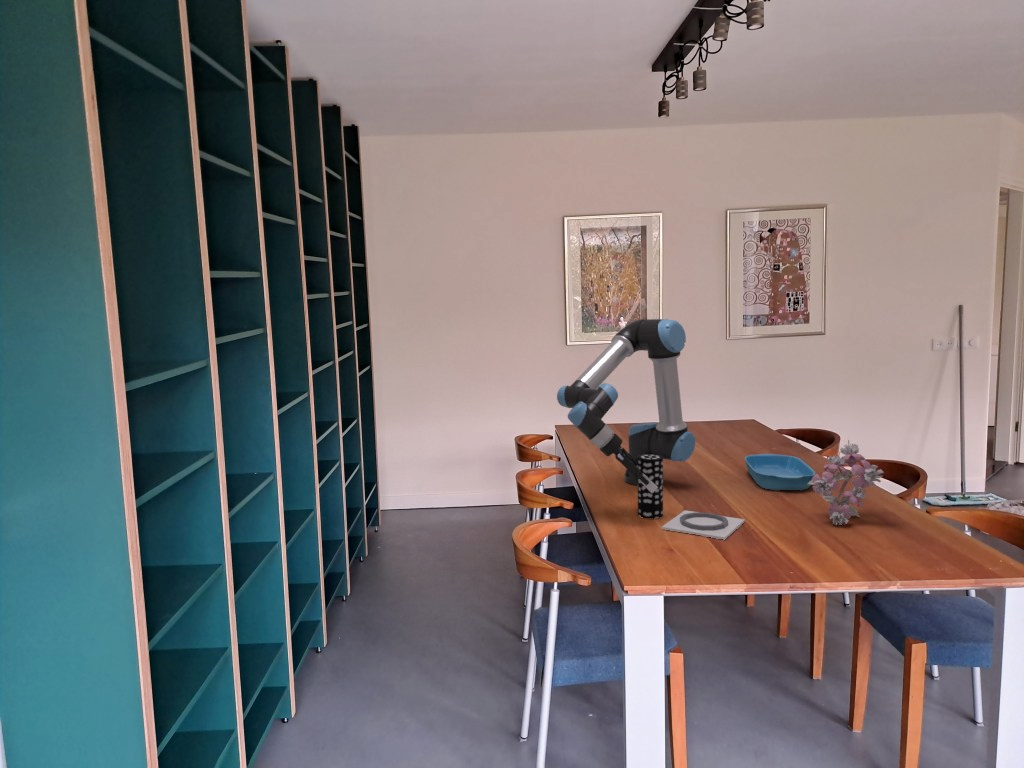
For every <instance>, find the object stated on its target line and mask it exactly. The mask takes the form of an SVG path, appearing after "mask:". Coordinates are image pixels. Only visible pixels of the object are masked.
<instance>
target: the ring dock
mask: <svg viewBox="0 0 1024 768" xmlns="http://www.w3.org/2000/svg"><path fill="white" fill-rule="evenodd" d="M745 520H746V519H744V518H739V517H731V516H724V515H720V514H717V513H710V512H698V511H693V510H692V511H691V510H686V509H685V510H683V511H682V512H681V513H679V514H678V515H676V516H675V517H673V518H672V519H670V520H669V521H668V522H666V523H665V524H663V525H662V526H661V530H662V529H665V530H664V531H666V530H670V531H669V532H671V531H677V532H683V533H689V534H696V535H702V536H706V537H711V538H710V539H712V538H716V539H715V540H718V539H723V540H722V541H724V540H725V539H726V538H727V537H728V536H729V537H731V536H732V535H733V534H734V533H735V532H736V531H737V530H738V529H739V528H740V527H742V526H743V525H744V524H745V523H744V522H746V521H745ZM743 523H744V524H743ZM742 524H743V525H742ZM736 529H737V530H736ZM735 530H736V531H735ZM734 531H735V532H734ZM677 532H676V533H677ZM733 532H734V533H733ZM683 533H682V534H683ZM732 533H733V534H732ZM689 534H688V535H689ZM731 534H732V535H731ZM730 535H731V536H730ZM706 537H705V538H706ZM729 537H728V538H729ZM728 538H727V539H728ZM727 539H726V540H727ZM726 540H725V541H726Z"/></svg>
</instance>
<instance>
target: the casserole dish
mask: <svg viewBox="0 0 1024 768" xmlns="http://www.w3.org/2000/svg"><path fill="white" fill-rule="evenodd" d="M744 462H745V465H746V468H747V471H748V473H749V474H750V476H751V477H752V479H753V480H754V482H755V483H756V484H757V485H758V486H759V487H761V488H762V489H764V488H765V489H764V490H767V489H770V490H769V491H780V490H800V491H805V489H806V490H807V489H809V488H810V487H811V485H807V484H808V483H809V482H810V481H811V480H812V478H813V476H814V475H816V471H815V470H814V469H813V468H812V467H811V466H809V465H808V464H807V463H806V462H805V461H804V460H802V458H799V457H797V456H793V455H786V454H777V453H758V454H748V455H746V456H745V457H744Z"/></svg>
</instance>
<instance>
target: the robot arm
mask: <svg viewBox="0 0 1024 768" xmlns="http://www.w3.org/2000/svg"><path fill="white" fill-rule="evenodd" d="M686 336H687V335H686V332H685V329H684V327H683V325H682V323H680V322H679V321H677V320H674V319H668V318H662V319H661V318H656V319H655V318H654V319H653V318H652V319H651V318H650V319H649V318H643V319H641V318H639V319H637V320H634V321H632V322H630V323H629V324H627V325H625V326H624V327H623V328H622V329H620V330H619V331H618V332H617V333H616V334H615V335H614V336H613V337H612V338H611V340H610V341H611V343H610V344H609V345H608V346H607V347H605V349H604V350H603V351H602V352H601V353H600V355H599V356H597V357H596V358H595V360H593V362H591V364H590V365H589V366H588V367H587V368H585V370H584V371H583V372H582V373H581V374H580V375H579V376H578V377H577V378H576V380H574V382H573V383H572V384H570V385H562V386H560V388H559V389H558V390H557V394H556V400H557V402H558V404H559V405H560V406H561V407H563V408H568V409H570V410H569V411H568V414H567V419H568V420H569V422H571V424H572V425H573V426H574V427H575V428H577V430H578V431H580V432H581V433H582V434H583V435H584V436H585V437H586V438H587V439H588V440H590V444H591V445H595V447H596V448H599V451H600V452H602V454H603V455H605V456H606V457H611V456H612V454H614V457H615V459H616V460H617V462H619V463H620V464H621V465H622V466H623V467H624V468H625V469H626V470H625V473H624V482H625V483H627V484H629V485H633V486H634V485H635V486H638V480H639V481H640V482H641V483H642V484H643V485H644V486H645V487H646V488H647V489H648V490H649V491H650V492H651V493H653V492H654V491H655V490H656V489H657V488H658V487H657V486H656V485H655V484H654V483H653V482H652V481H651V480H650V479H649V478H648V477H647V476H646V475H645V474H644V473H642V472H641V471H640V470H639V469H638V456H639V455H643V454H655V455H661V456H663V460H668V461H672V462H680V463H681V462H683V463H684V462H686V461H687V460H689V459H690V458H691V456H692V455H693V453H694V450H695V446H696V435H694V433H693V432H692V431H689V430H688V424H687V423H686V422H685V421H684V420H683V411H682V402H681V400H682V399H681V392H680V391H681V390H680V381H679V380H680V379H679V370H678V360H677V359H678V358H679V357H680V355H681V352H682V350H683V349H684V348H685V346H686V345H685V344H686V342H687V341H686V340H687V338H686ZM638 351H639V352H640V351H645V352H646V351H647V357H648V359H649V360H650V361H651V362H652V364H653V365H652V366H653V375H654V383H655V385H654V386H655V393H656V394H655V395H656V405H657V411H658V421H659V422H656V421H655V422H653V421H652V422H642V423H640V422H639V423H635V424H632V425H630V426H629V428H628V451H627V450H626V449H625V448H624V447H622V446H621V445H622V443H623V438H621V437H620V436H619V435H618V434H616V433H614V430H613V429H612V428H611V427H610V426H609V425H608V424H607V423H605V422H604V421H603V418H604V417H605V415H606V414H607V413H608V411H609V410H610V409H611V408H612V407H613V406H614V405H615V402H616V401H617V400H618V398H619V392H618V391H617V389H616V387H614V386H613V385H612V384H610V383H606V382H604V381H606V379H608V377H610V375H611V374H612V373H613V372H614V371H615V370H616V369H617V368H618V366H619V365H621V364H622V362H623V361H624V360H625V359H626V358H630V357H631V356H633V354H634V353H636V352H638Z"/></svg>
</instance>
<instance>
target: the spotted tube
mask: <svg viewBox="0 0 1024 768" xmlns="http://www.w3.org/2000/svg"><path fill="white" fill-rule="evenodd" d="M638 469H639V470H640V471H641V472H642V473H644V474H645V475H646V476H647V477H648V478H649V479H650V480H651V481H652V482H653V483H654V484H655V485H656V486H657V487H658V488H657V489H656V490H655V491H654V492H653V493H651V492H650V491H649V490H648V489H647V488H646V487H645V486H644V485H643V484H642V483H641V482H640V481H639V480H638V485H637V516H638V515H639V516H641V517H643V518H642V519H644V518H651V519H650V520H655V519H654V518H659V519H661V518H660V517H662V516H664V459H663V456H661V455H655V454H643V455H639V456H638ZM639 516H638V517H639ZM641 517H640V518H641ZM652 518H653V519H652ZM662 518H663V517H662Z"/></svg>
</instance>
